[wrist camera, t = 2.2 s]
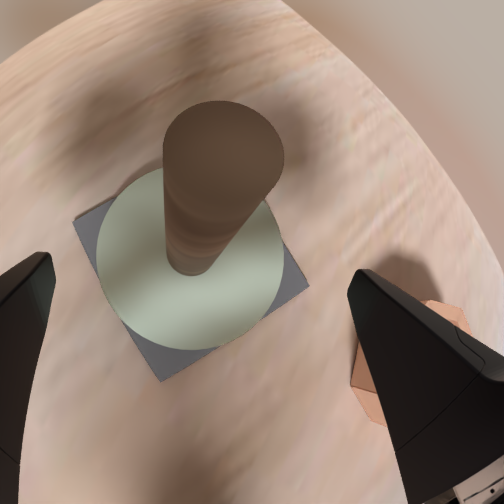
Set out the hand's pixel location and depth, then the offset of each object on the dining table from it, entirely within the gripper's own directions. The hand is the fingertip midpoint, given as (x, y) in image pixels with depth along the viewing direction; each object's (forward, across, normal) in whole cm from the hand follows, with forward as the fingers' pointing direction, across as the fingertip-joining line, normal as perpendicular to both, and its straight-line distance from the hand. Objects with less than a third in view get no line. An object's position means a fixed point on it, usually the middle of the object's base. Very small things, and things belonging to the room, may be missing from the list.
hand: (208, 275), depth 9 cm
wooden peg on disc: (+9, 0, +6) cm, 11 cm away
